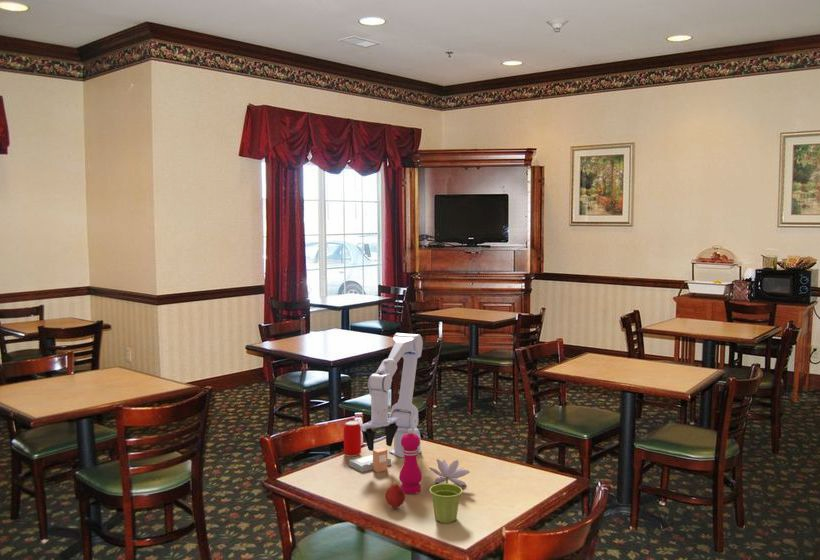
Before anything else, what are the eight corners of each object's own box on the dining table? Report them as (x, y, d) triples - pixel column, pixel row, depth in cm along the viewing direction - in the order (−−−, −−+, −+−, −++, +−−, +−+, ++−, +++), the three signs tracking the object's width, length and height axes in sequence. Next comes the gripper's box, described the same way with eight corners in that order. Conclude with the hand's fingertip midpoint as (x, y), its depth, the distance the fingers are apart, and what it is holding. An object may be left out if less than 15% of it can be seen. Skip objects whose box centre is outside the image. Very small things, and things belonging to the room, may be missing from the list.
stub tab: (382, 467, 241) (382, 447, 240) (387, 469, 238) (387, 450, 238) (372, 470, 238) (372, 450, 238) (378, 472, 236) (377, 452, 235)
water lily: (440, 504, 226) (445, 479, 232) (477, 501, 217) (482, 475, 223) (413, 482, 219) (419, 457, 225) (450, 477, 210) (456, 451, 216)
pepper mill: (422, 486, 223) (422, 425, 222) (421, 495, 216) (420, 432, 214) (400, 485, 224) (400, 425, 222) (398, 494, 217) (397, 431, 215)
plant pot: (460, 511, 204) (460, 483, 203) (464, 525, 194) (464, 495, 194) (428, 512, 203) (428, 483, 203) (430, 526, 194) (430, 496, 193)
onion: (394, 502, 210) (394, 477, 210) (408, 507, 207) (408, 481, 206) (381, 508, 206) (381, 482, 205) (396, 514, 202) (396, 487, 202)
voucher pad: (377, 458, 250) (377, 452, 250) (390, 464, 244) (390, 458, 243) (349, 465, 243) (349, 459, 242) (362, 472, 236) (362, 466, 236)
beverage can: (341, 453, 256) (341, 421, 255) (357, 451, 258) (357, 419, 257) (347, 458, 250) (346, 426, 249) (363, 456, 253) (363, 423, 252)
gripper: (368, 414, 229) (369, 455, 230) (403, 407, 238) (403, 446, 239) (356, 410, 235) (357, 449, 236) (391, 403, 243) (391, 441, 245)
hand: (379, 447), depth 238 cm, fingers open, 7 cm apart
